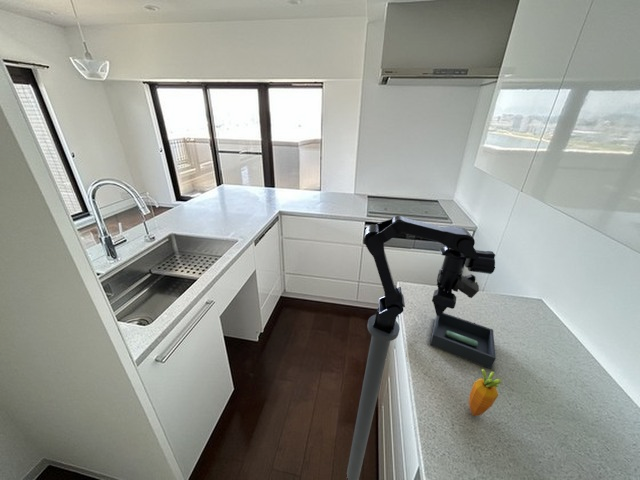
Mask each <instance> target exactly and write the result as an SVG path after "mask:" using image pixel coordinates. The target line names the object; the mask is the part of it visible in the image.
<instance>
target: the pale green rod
mask: <svg viewBox="0 0 640 480" xmlns="http://www.w3.org/2000/svg"><path fill="white" fill-rule="evenodd" d="M445 334H446V336H448V337H450V338H453V339H456V340H458V341H461V342H464V343H466V344H469V345H472V346H478V342H477V341H476V340H473V339H470V338H468V337H465V336H462V335H459V334H457V333H454V332H451V331H446V332H445Z"/></svg>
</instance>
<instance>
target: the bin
mask: <svg viewBox="0 0 640 480" xmlns="http://www.w3.org/2000/svg"><path fill="white" fill-rule="evenodd" d="M446 331H451V332H454V333H457V334H459V335H462V336H465V337H468V338H470V339H473V340H476V341H477V342H478V346H472V345H469V344H466V343H464V342H461V341H458V340H456V339H453V338H450V337H448V336H446V334H445V332H446ZM494 337H495V335H494V329H492V328H490V327H487V326H484V325H481V324H478V323H475V322H471V321H469V320H467V319H463V318H460V317H457V316H455V315H452V314H448V313H446V312H443V313H442V314H441V316H437V315H436V314H435V318H434V324H433V328H432V334H431V337H430V342H429V346H432V347H434V348H436V349H439V350H442V351H444V352H447V353H449V354H451V355H454V356H457V357H459V358H462V359H464V360H467V361H469V362H471V363H473V364H474V363H475V364H477V365H479V366H482V367H484V368H487V369H489V370H491V369H492V368H493V366H494V363H495V361H496V359H497V356H496V345H495V338H494Z"/></svg>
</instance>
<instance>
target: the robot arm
mask: <svg viewBox="0 0 640 480" xmlns="http://www.w3.org/2000/svg"><path fill="white" fill-rule="evenodd" d="M402 233H403V234H406V235H410V236H413V237H418V238H422V239H426V240H430V241H433V242H437V243H439V244H442V245H443V247H440V248H439V249H438V250H439V252H440V254H441V256H444V258H443V262H442V265H441V267H440V269H438V274H437V277H436V278H437V279H436V286H437V289H435V290H434V291H433V295H432V299H431V302H432V303H433V306H434V310H435V316H436V315H437V316H441V314H442V313H445V311H446V309H452V310H453V309H455V307H456V304H457V296H456V294H455V293H453V291H454V292H456V293H458V291H459V292H461V293H462V294H464V295H466V296H467V297H468V298H469V299H472V298H473V297H475V296H476V295H477V294H478V293H479V291H480V288H479V287H480V286H479V284H478V282H476V280H477V279H476V276H475V275H474V274H467V275H463V271H464V267H465V268H467V270H468V271H469V272H473V273H480V274H487V275H492V274H493V273H494V271H495V269H496V259H495V257H496V254H495V253H494V252H493V251H491V250H480V249H479V250H478V249H475V247H474V246H475V244H476V242H475V238H474V237H473V236H472V234H471V233H470V232H469V231H468V230H467V229H466V228H464V227H461V226H451V225H449V226H439V225H435V224H431V223H426V222H423V221H418V220H415V219H411V218H407V217H404V216H402V215H396V216H394V217H392V218H389V219H385V220H383V221H380V222H378V223H376V224H370V225H367V227H366V228H365V230H364V238H363V242H364V245H365V247H366V249H367V251H368V252H369V254H370V255H371V256H372V258H373V259H374V263H375V266H376V270H377V272H378V276H379V279H380V282H381V285H382V289H383V293H384V296H381V297H379V298H378V307H377V310H376V312H375V315H376V317H375V322H374V324H373V327H374V328H376V329H379V330H381V331H384V332H386V333H389V334H390V333H391V330H393V329H394V326H395V322H396V321H397V318H398V316H399V315H401V314H402V313H403V312H404V308H406V304H405V298H404V297H405V296H404V294H403V292H402V286H399V287H397V286H396V284H395V282H394V278H393V275H392V271H391V269H390V265H389V261H388V258H387V254H386V250H385V244H386V243H387V242H389V241H390V240H391V239H393V238H394V237H395V236H397V235H398V234H402Z"/></svg>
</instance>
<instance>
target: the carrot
mask: <svg viewBox="0 0 640 480" xmlns="http://www.w3.org/2000/svg"><path fill="white" fill-rule="evenodd" d="M481 373H482V378H479V379H476V380H475V381H474V382H473V385H472V387H471V390H470V393H469V398H468V405H469V410H470V414H471V415H472V416H473V417H477V416H478V417H479V416H481V415H483V414H484V413H485V412H487V411H488V410H489V409H490V408H491V407H492V406H493V404H495V401H496V400H497V399H498V397H499V392H498V389H497V388H500V385H499V384H501V383H502V380H501V379H500V378H496V379H494V380H493V376H495V372H494V371H490V373H489V375H488V377H487V373H486V370H485V369H484V368H482V369H481Z"/></svg>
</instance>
